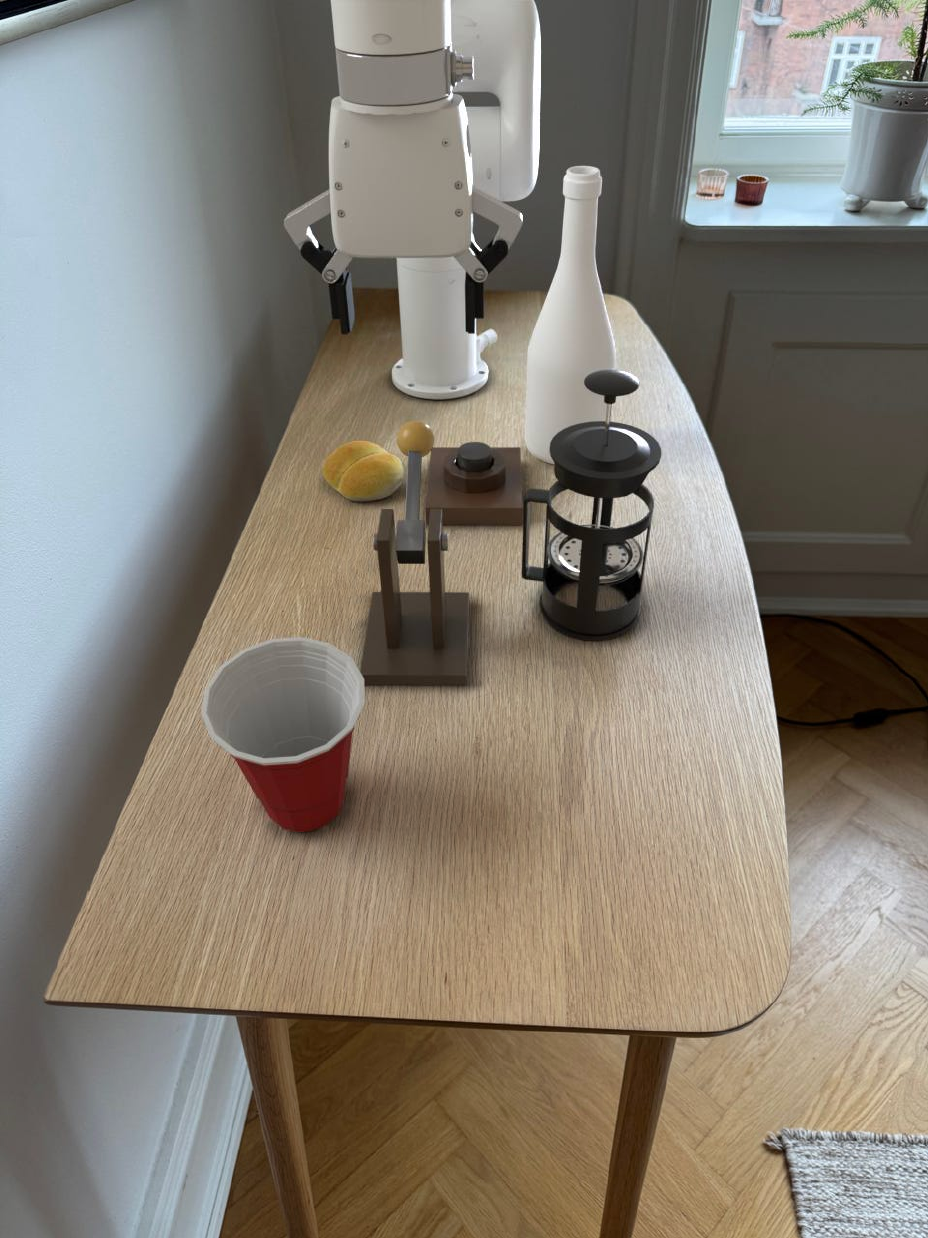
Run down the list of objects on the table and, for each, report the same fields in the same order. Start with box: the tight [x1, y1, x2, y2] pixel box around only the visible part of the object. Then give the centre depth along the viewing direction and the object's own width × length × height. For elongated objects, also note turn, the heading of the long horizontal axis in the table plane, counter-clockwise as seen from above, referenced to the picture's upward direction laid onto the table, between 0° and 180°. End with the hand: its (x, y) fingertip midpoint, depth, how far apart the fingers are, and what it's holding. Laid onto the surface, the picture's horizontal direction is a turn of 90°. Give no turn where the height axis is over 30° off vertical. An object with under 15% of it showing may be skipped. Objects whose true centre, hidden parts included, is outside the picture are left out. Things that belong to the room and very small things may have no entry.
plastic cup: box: [200, 636, 365, 833], centre depth 64 cm, size 11×11×12 cm
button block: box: [424, 446, 524, 526], centre depth 98 cm, size 12×10×4 cm
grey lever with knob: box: [395, 420, 435, 565], centre depth 76 cm, size 13×3×3 cm, turn 179°
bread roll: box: [322, 440, 405, 502], centre depth 100 cm, size 8×9×4 cm
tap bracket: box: [359, 508, 470, 686], centre depth 77 cm, size 11×9×13 cm
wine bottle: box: [524, 165, 617, 465], centre depth 96 cm, size 10×10×30 cm
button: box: [458, 441, 492, 472], centre depth 96 cm, size 4×4×2 cm
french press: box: [521, 369, 662, 642], centre depth 77 cm, size 12×9×23 cm
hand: (409, 326), depth 72 cm, fingers open, 9 cm apart
